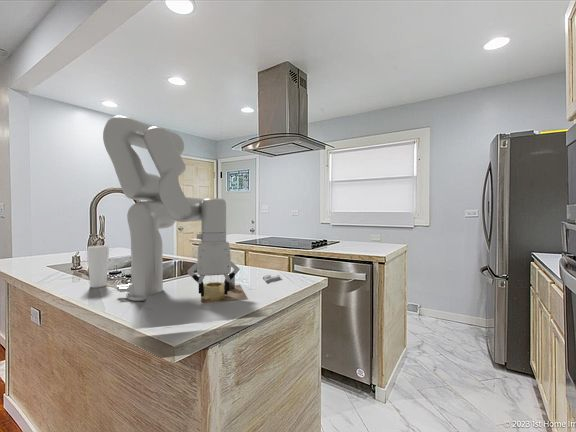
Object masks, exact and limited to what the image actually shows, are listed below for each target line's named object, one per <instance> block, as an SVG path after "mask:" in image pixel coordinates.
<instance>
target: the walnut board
mask: <svg viewBox="0 0 576 432" xmlns="http://www.w3.org/2000/svg"><path fill="white" fill-rule="evenodd" d="M246 300H249V298H248V296H247V294H246V293H245V291H244V289H243V287H242V286H241V284H235V289H233V290H229V291H227V295H226V294H225V298H223V299H221V300H213V301H209V300H204V299H203V297H201V296H200V304H208V303H209V304H210V303H221V302H233V301H246Z"/></svg>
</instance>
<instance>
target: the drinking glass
mask: <svg viewBox="0 0 576 432" xmlns="http://www.w3.org/2000/svg"><path fill="white" fill-rule="evenodd" d="M109 254H110V253H109V245H101V244H100V245H90V246H87V250H86V256H87V258H86V259H87V268H88V269H87V270H88V275H89V287H90V288H93V289H98V288H102V287H105V286H107V284H108V281H107V280H108V270H109V268H108V267H109V257H110V255H109Z"/></svg>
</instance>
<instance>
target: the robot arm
mask: <svg viewBox="0 0 576 432" xmlns="http://www.w3.org/2000/svg"><path fill="white" fill-rule="evenodd" d="M102 140H103V144H104V147H105V150H106V153H107V154H108V156H109V158H110V160H111V162H112V166H113V167H114V171H115V174H116V176H117V179H118V182H119V184H120V188H121V189H122V192H123V194H124V196H125V197H126V198H127V199H130V200H136V201H139V202H135V203H134V204H132V205H131V206H130V207H129V208H128V211H127V214H126V218H127V225H128V228H129V229H128V230H129V235H130V252H131V253H130V254H131V256H130V259H131V260H130V265H131V266H130V267H131V268H130V269H131V270H130V271H131V273H130V275H131V280H130V283H128V284H119V285H116V291H117V292H119V293H125V292H126V297H125V298H126V299H127V300H129V301H135V302H143V301H147V299H148V297H149V296H152V295H157V294H160V293H161V292H163V289H164V288H163V287H164V286H163V283H164V282H163V279H164V278H163V272H164V271H163V264H164V263H163V240H162V236H161V233H160V230H162V229H166V228H167V229H168V228H171V227H173V225H174V224H175V223H176V222H179V223H187V222H200V221H201V233H199V234H196V239H197V240H198V239H199V240H201V242H199V243H198V248H197V257H196V258H197V260H196V263H194V264H193V265H192V266H191V267H190V268H189V269H188V270H187V274H188V275H189V276H190V277H191V278H192V279H193V280H194V281H195V282H196V283H197V284H198V294H200V298H201V297H203V296H204V290H203V284H204V282H203V281H204V279H205V277H207V276H224V280H223V281H224V282H223V283H224V284H225V294H226V295H227V291H229V282H230V280H231V279H232V278H233V277H234V276H235V277H236V275H237V274H238V272H239V271H240V267H239V266H237V265H236V264H235V263H234V262H233V261H232V260H231V259H232V257H231V248H230V243H229V241H227V202H226V200H225V199H223V198H198V197H186V195H185V194H184V192H183V190H182V188H181V186H180V182H179V181H180V180H179V176H181V175H183V173H184V172H185V171H186V168H187V167H186V164H185V162H184V159H183V158H182V156H181V155H182V154H183V152H184V151H185V143H184V140H183V138H182V137H181V135H179V134H178V133H177V132H174V131H172V130H169V129H166V128H163V127H159V126H153V125H150V124H147V123H145V122H142V121H140V120H137V119H134V118H131V117H128V116H123V115H116V116H113V117H110V118H109V119H108V120H107V121H106V123H105V126H104V128H103V130H102ZM132 146H135V147H138V148H142V149H146V150H147V151H148V153H149V155H150V157H151V160H152V162H153V163H154V165H155V167H156V170H157V172H158V173H159V175H158V174H154V173H153V174H152V173H148V172H147V171H146V170H145V168H144V166H143V164H142V159H141V158H140V156H139V154H138V153H137V151H135V149H134V148H133V147H132ZM232 269H233V270H232ZM195 271H196V272H197V274H198V275H197V274H196V273H195ZM229 273H230V274H229ZM228 274H229V275H228Z"/></svg>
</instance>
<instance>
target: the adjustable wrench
mask: <svg viewBox="0 0 576 432" xmlns="http://www.w3.org/2000/svg"><path fill="white" fill-rule="evenodd" d="M262 279H263V281H264V282H265V283H266V284H268V283H270V282H275V281H280V280H281V275H279V274H277V275H275V276H272V274H266V275H264V276H262Z"/></svg>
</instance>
